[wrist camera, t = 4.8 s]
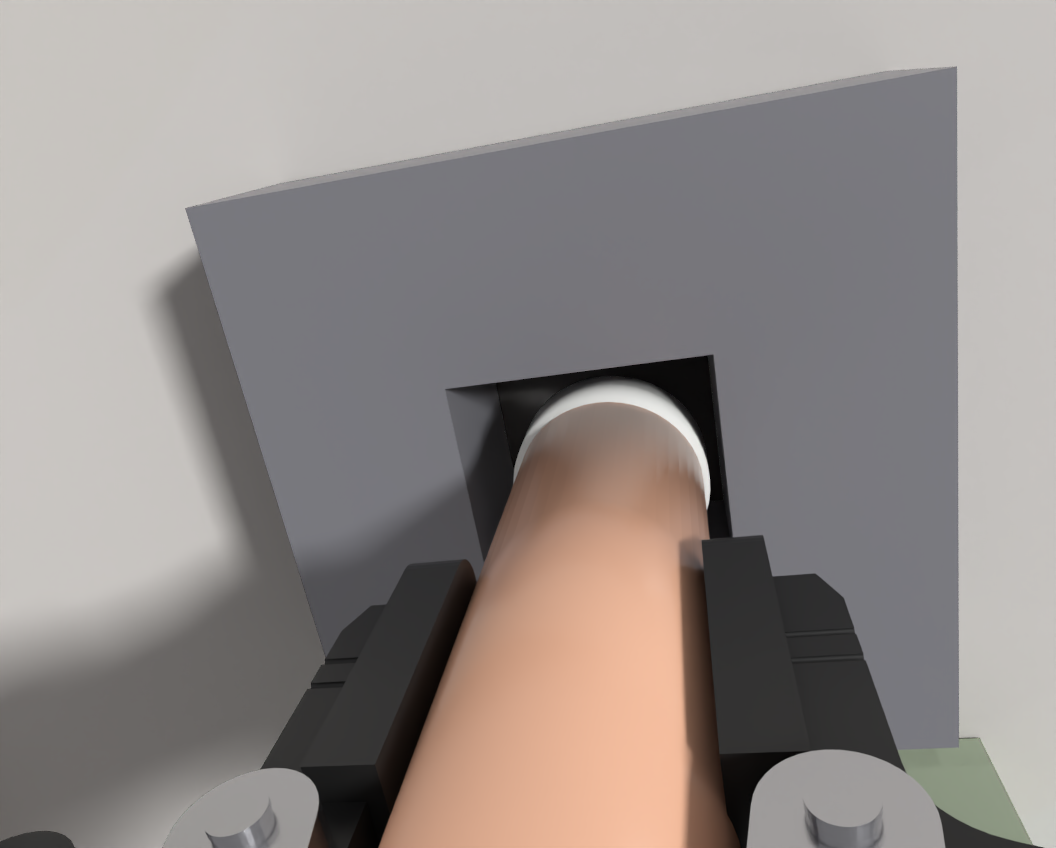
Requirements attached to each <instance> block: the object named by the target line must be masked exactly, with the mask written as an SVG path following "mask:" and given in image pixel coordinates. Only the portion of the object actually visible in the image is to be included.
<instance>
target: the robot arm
mask: <svg viewBox="0 0 1056 848" xmlns="http://www.w3.org/2000/svg"><path fill="white" fill-rule="evenodd" d="M701 541H702V554H703V566H704V577H705V589H706V601H707V613H708V624H709V636H710V648H711V660H712V672H713V683H714V695H715V707H716V719H717V730H718V742H719V754H720V762H721V770H722V778H723V786H724V794H725V802H726V810H727V815H728V817H729V819H730V820H731V822H732V824H733V826H734V829H735V832H736V834H737V837H738V839H739V842H740V846H741V848H1043V847H1038V846H1034V845H1030V844H1026V843H1021V842H1017V841H1013V840H1009V839H1005V838H1002V837H998V836H995V835H991V834H989V833H986V832H984V831H981V830H978V829H976V828H973V827H971V826H969V825H967V824H965V823H963V822H961V821H959V820H957V819H956V818H954V817H952V816H951V815H949V814H948V813H946V812H945V811H943V810H942V809H940V808H939V807H937V806H936V805H935V804H934V802H933V800H932V799H931V797H930V796H929V795H928V793H927V792H926V791H925V789H924V788H923V787H922V786H921V785H920V784H919V783H918V782H917V781H916V780H914V779H913V778H912V777H911V776H909V775H908V774H907V773H906V770H905V768H904V766H903V764H902V762H901V759H900V756H899V753H898V750H897V747H896V745H895V742H894V739H893V736H892V733H891V730H890V728H889V725H888V722H887V719H886V716H885V713H884V711H883V708H882V705H881V702H880V699H879V696H878V694H877V691H876V688H875V685H874V682H873V679H872V676H871V674H870V671H869V668H868V665H867V662H866V660H864V655H863V651H862V648H861V645H860V642H859V640H858V637H857V634H855V630H854V625H853V623H852V620H851V617H850V614H849V611H848V608H847V606H846V603H845V600H844V597H842V596H841V595H840V594H839V593H838V592H837V591H836V590H834V589H833V588H832V587H831V586H830V585H829V584H827V583H826V582H825V581H824V580H823V579H822V578H820V577H819V576H818V575H817V574H816V573H813V574H799V575H786V576H772V572H771V567H770V563H769V558H768V554H767V550H766V545H765V541H764V537H763V535H755V536H743V537H730V538H718V539H706V540H701ZM476 584H477V581H476V577H475V573H474V570H473V568H472V566H471V564H470V562H469V561H468V560H466V559H460V560H448V561H436V562H424V563H412V564H409V565H408V566H407V567H406V569H405V570H404V572H403V574H402V576H401V578H400V580H399V582H398V583H397V585H396V587H395V589H394V591H393V593H392V595H391V597H390V599H389V600H388V602H387V604H384V605H371V606H370V607H369V608H368V609H366V610H365V611H364V612H363V613H362V614H361V615H359V616H358V617H357V618H356V619H355V620H354V621H352V622H351V623H350V624H349V625H348V626H347V627H345V628H344V629H343V630H342V631H341V633H340V634H339V636H338V638H337V640H336V641H335V643H334V645H333V646H332V648H331V650H330V651H329V653H328V655H327V657H326V658H325V665H321V667H320V669H319V670H318V672H317V674H316V675H315V677H314V679H313V680H312V682H311V689H307V691H306V692H305V694H304V696H303V698H302V699H301V701H300V703H299V704H298V706H297V708H296V709H295V711H294V713H293V715H292V716H291V718H290V720H289V721H288V723H287V725H286V727H285V728H284V730H283V732H282V733H281V735H280V737H279V738H278V740H277V742H276V744H275V745H274V747H273V749H272V750H271V752H270V754H269V756H268V757H267V759H266V761H265V762H264V764H263V766H262V767H261V769H260V770H257V771H252V772H249V773H246V774H243V775H240V776H237V777H235V778H233V779H230V780H228V781H226V782H224V783H222V784H220V785H219V786H217V787H215V788H213V789H212V790H211V791H209V792H208V793H206V794H205V795H203V796H202V797H201V798H199V799H198V800H197V801H196V802H195V803H194V804H192V805H191V806H190V807H189V808H188V809H187V810H186V811H185V812H184V813H183V815H182V816H181V817H180V818H179V819H178V821H177V822H176V823H175V825H174V826H173V828H172V829H171V831H170V833H169V835H168V836H167V838H166V841H165V843H164V845H163V847H162V848H378V847H379V844H380V842H381V839H382V836H383V834H384V831H385V828H386V826H387V823H388V820H389V817H390V815H391V812H392V809H393V807H394V804H395V801H396V799H397V796H398V793H399V791H400V788H401V785H402V783H403V780H404V777H405V774H406V772H407V769H408V766H409V764H410V761H411V758H412V756H413V753H414V750H415V748H416V745H417V742H418V740H419V737H420V734H421V731H422V729H423V726H424V723H425V721H426V718H427V715H428V713H429V710H430V707H431V705H432V702H433V699H434V697H435V694H436V691H437V688H438V686H439V683H440V680H441V678H442V675H443V672H444V670H445V667H446V664H447V662H448V659H449V656H450V654H451V651H452V648H453V645H454V643H455V640H456V637H457V635H458V632H459V629H460V627H461V624H462V621H463V619H464V616H465V613H466V611H467V608H468V605H469V602H470V600H471V597H472V594H473V592H474V589H475V586H476ZM0 848H75V847H74V845H73V843H72V841H71V840H70V839H68V838H67V837H66V836H65V835H62V834H60V833H57V832H51V831H37V832H31V833H25V834H21V835H18V836H14V837H11V838H9V839H6V840H3V841H1V842H0Z"/></svg>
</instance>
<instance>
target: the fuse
mask: <svg viewBox="0 0 1056 848" xmlns="http://www.w3.org/2000/svg"><path fill="white" fill-rule="evenodd" d="M709 498H710V476H709V467H708V459H707V452H706V446H705V442H704V439H703V436H702V433H701V430H700V429H699V427H698V425H697V423H696V421H695V419H694V418H693V416H692V415H691V414H690V412H689V411H688V410H687V409H686V408H685V407H684V405H683V404H682V403H681V402H680V401H678V400H677V399H676V398H675V397H674V396H672V395H671V394H670V393H668V392H666V391H665V390H663V389H662V388H660V387H658V386H655V385H653V384H651V383H649V382H646V381H643V380H640V379H636V378H630V377H625V376H600V377H594V378H589V379H585V380H582V381H579V382H576V383H574V384H572V385H570V386H568V387H565V388H564V389H562V390H561V391H559V392H558V393H556V394H555V395H553V396H552V397H551V398H550V399H549V400H548V401H546V403H545V404H544V405H543V406H542V407H541V408H540V409H539V411H538V412H537V414H536V415H535V417H534V418H533V420H532V422H531V424H530V426H529V428H528V430H527V433H526V435H525V438H524V440H523V443H522V445H521V448H520V451H519V453H518V457H517V460H516V463H515V469H514V479H513V487H512V490H511V492H510V495H509V498H508V500H507V503H506V506H505V508H504V511H503V514H502V516H501V519H500V522H499V525H498V527H497V530H496V533H495V535H494V538H493V541H492V543H491V546H490V549H489V551H488V554H487V557H486V559H485V562H484V565H483V568H482V570H481V573H480V576H479V578H478V581H477V584H476V586H475V589H474V592H473V594H472V597H471V600H470V602H469V605H468V608H467V611H466V613H465V616H464V619H463V621H462V624H461V627H460V629H459V632H458V635H457V637H456V640H455V643H454V645H453V648H452V651H451V654H450V656H449V659H448V662H447V664H446V667H445V670H444V672H443V675H442V678H441V680H440V683H439V686H438V688H437V691H436V694H435V697H434V699H433V702H432V705H431V707H430V710H429V713H428V715H427V718H426V721H425V723H424V726H423V729H422V731H421V734H420V737H419V740H418V742H417V745H416V748H415V750H414V753H413V756H412V758H411V761H410V764H409V766H408V769H407V772H406V774H405V777H404V780H403V783H402V785H401V788H400V791H399V793H398V796H397V799H396V801H395V804H394V807H393V809H392V812H391V815H390V817H389V820H388V823H387V826H386V828H385V831H384V834H383V836H382V839H381V842H380V844H379V847H378V848H741V846H740V842H739V839H738V837H737V834H736V832H735V829H734V826H733V824H732V822H731V820H730V819H729V817H728V815H727V810H726V802H725V794H724V786H723V778H722V770H721V762H720V754H719V742H718V730H717V719H716V707H715V695H714V683H713V672H712V660H711V648H710V636H709V624H708V613H707V601H706V589H705V577H704V566H703V554H702V541H701V540H706V539H710V537H709V527H708V517H707V508H708V504H709Z"/></svg>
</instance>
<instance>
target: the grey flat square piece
mask: <svg viewBox="0 0 1056 848" xmlns="http://www.w3.org/2000/svg"><path fill="white" fill-rule="evenodd" d="M185 209H186V212H187V215H188V219H189V222H190V225H191V228H192V231H193V235H194V238H195V241H196V244H197V247H198V251H199V254H200V257H201V260H202V263H203V267H204V270H205V273H206V276H207V279H208V283H209V286H210V289H211V292H212V295H213V299H214V302H215V305H216V308H217V311H218V315H219V318H220V321H221V324H222V327H223V331H224V334H225V337H226V340H227V343H228V347H229V350H230V353H231V356H232V359H233V363H234V366H235V369H236V372H237V375H238V379H239V382H240V385H241V388H242V391H243V395H244V398H245V401H246V404H247V407H248V410H249V414H250V417H251V420H252V423H253V426H254V430H255V433H256V436H257V439H258V442H259V446H260V449H261V452H262V455H263V458H264V462H265V465H266V468H267V471H268V474H269V478H270V481H271V484H272V487H273V490H274V494H275V497H276V500H277V503H278V506H279V510H280V513H281V516H282V519H283V522H284V526H285V529H286V532H287V535H288V538H289V542H290V545H291V548H292V551H293V554H294V558H295V561H296V564H297V567H298V570H299V574H300V577H301V580H302V583H303V586H304V590H305V593H306V596H307V599H308V602H309V606H310V609H311V612H312V615H313V618H314V622H315V625H316V628H317V631H318V634H319V638H320V641H321V644H322V647H323V650H324V654H325V657H327V655H328V653H329V651H330V650H331V648H332V646H333V645H334V643H335V641H336V640H337V638H338V636H339V634H340V633H341V631H342V630H343V629H344V628H345V627H347V626H348V625H349V624H350V623H351V622H352V621H354V620H355V619H356V618H357V617H358V616H359V615H361V614H362V613H363V612H364V611H365V610H366V609H368V608H369V607H370V606H371V605H384V604H387V602H388V600H389V599H390V597H391V595H392V593H393V591H394V589H395V587H396V585H397V583H398V582H399V580H400V578H401V576H402V574H403V572H404V570H405V569H406V567H407V566H408V565H409V564H412V563H424V562H436V561H448V560H460V559H466V560H468V561H469V562H470V564H471V566H472V568H473V570H474V573H475V577H476V581H478V578H479V576H480V573H481V570H482V568H483V565H484V562H485V559H486V557H487V554H488V551H489V549H490V546H491V543H492V541H493V538H494V535H495V533H496V530H497V527H498V525H499V522H500V519H501V516H502V514H503V511H504V508H505V506H506V503H507V500H508V498H509V495H510V492H511V490H512V487H513V479H514V470H513V465H512V460H511V455H510V450H509V445H508V441H507V436H506V431H505V426H504V421H503V416H502V411H501V406H500V401H499V396H498V391H497V386H496V383H497V382H504V381H512V380H520V379H528V378H535V377H543V376H551V375H558V374H566V373H574V372H582V371H589V370H597V369H605V368H613V367H620V366H628V365H636V364H643V363H651V362H659V361H667V360H674V359H682V358H690V357H698V356H705V355H708V364H709V373H710V382H711V391H712V400H713V409H714V418H715V427H716V437H717V446H718V455H719V464H720V473H721V482H722V491H723V500H716V501H709V504H708V508H707V517H708V527H709V537H710V539H718V538H730V537H743V536H755V535H763V537H764V541H765V545H766V550H767V554H768V558H769V563H770V567H771V572H772V576H786V575H799V574H813V573H816V574H817V575H818V576H819V577H820V578H822V579H823V580H824V581H825V582H826V583H827V584H829V585H830V586H831V587H832V588H833V589H834V590H836V591H837V592H838V593H839V594H840V595H841V596H842V597H844V600H845V603H846V606H847V608H848V611H849V614H850V617H851V620H852V623H853V625H854V630H855V634H857V637H858V640H859V642H860V645H861V648H862V651H863V655H864V660H866V662H867V665H868V668H869V671H870V674H871V676H872V679H873V682H874V685H875V688H876V691H877V694H878V696H879V699H880V702H881V705H882V708H883V711H884V713H885V716H886V719H887V722H888V725H889V728H890V730H891V733H892V736H893V739H894V742H895V745H896V747H897V750H909V749H934V748H959V630H958V301H957V67H944V68H928V69H912V70H896V71H885V72H879V73H874V74H869V75H863V76H858V77H852V78H847V79H842V80H836V81H831V82H825V83H820V84H815V85H809V86H804V87H798V88H793V89H788V90H782V91H777V92H772V93H766V94H761V95H755V96H750V97H745V98H739V99H734V100H728V101H723V102H718V103H712V104H707V105H701V106H696V107H691V108H685V109H680V110H674V111H669V112H664V113H658V114H653V115H647V116H642V117H637V118H631V119H626V120H620V121H615V122H610V123H604V124H599V125H593V126H588V127H583V128H577V129H572V130H566V131H561V132H556V133H550V134H545V135H539V136H534V137H529V138H523V139H518V140H512V141H507V142H502V143H496V144H491V145H485V146H480V147H475V148H469V149H464V150H458V151H453V152H448V153H442V154H437V155H431V156H426V157H421V158H415V159H410V160H404V161H399V162H394V163H388V164H383V165H378V166H372V167H367V168H361V169H356V170H351V171H345V172H340V173H334V174H329V175H324V176H318V177H313V178H307V179H302V180H297V181H291V182H286V183H280V184H276V185H272V186H268V187H265V188H261V189H257V190H253V191H249V192H246V193H242V194H238V195H234V196H230V197H226V198H223V199H219V200H215V201H211V202H207V203H204V204H200V205H196V206H192V207H188V208H185Z"/></svg>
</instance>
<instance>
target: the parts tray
mask: <svg viewBox="0 0 1056 848" xmlns="http://www.w3.org/2000/svg"><path fill="white" fill-rule="evenodd" d="M898 753H899V756H900V759H901V762H902V764H903V766H904V768H905V770H906V773H907V774H908V775H909V776H911V777H912V778H913V779H914V780H916V781H917V782H918V783H919V784H920V785H921V786H922V787H923V788H924V789H925V791H926V792H927V793H928V795H929V796H930V797H931V799H932V800H933V802H934V804H935V805H936V806H937V807H939V808H940V809H942V810H943V811H945V812H946V813H948V814H949V815H951V816H952V817H954V818H956V819H957V820H959V821H961V822H963V823H965V824H967V825H969V826H971V827H973V828H976V829H978V830H981V831H984V832H986V833H989V834H991V835H995V836H998V837H1002V838H1005V839H1009V840H1013V841H1017V842H1021V843H1026V844H1030V845H1033V844H1032V842H1031V840H1030V838H1029V836H1028V834H1027V832H1026V830H1025V828H1024V826H1023V824H1022V822H1021V820H1020V818H1019V816H1018V814H1017V812H1016V810H1015V808H1014V806H1013V804H1012V802H1011V800H1010V798H1009V796H1008V794H1007V792H1006V790H1005V788H1004V786H1003V784H1002V782H1001V780H1000V778H999V776H998V774H997V772H996V770H995V768H994V766H993V764H992V762H991V760H990V758H989V756H988V754H987V752H986V750H985V748H984V746H983V744H982V742H981V740H980V738H969V739H959V748H934V749H909V750H898Z"/></svg>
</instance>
